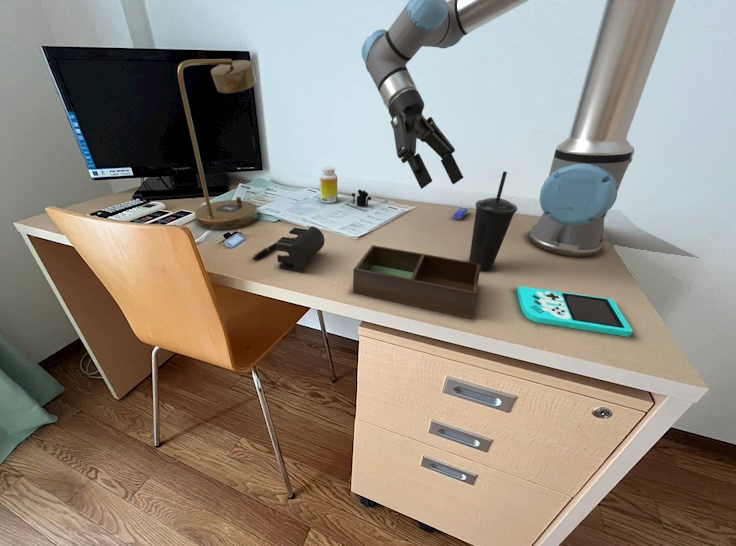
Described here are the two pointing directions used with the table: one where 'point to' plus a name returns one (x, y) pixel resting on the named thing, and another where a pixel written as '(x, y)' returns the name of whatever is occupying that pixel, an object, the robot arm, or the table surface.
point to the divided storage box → (418, 280)
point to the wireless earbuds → (361, 198)
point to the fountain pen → (264, 251)
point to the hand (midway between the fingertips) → (443, 183)
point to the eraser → (460, 213)
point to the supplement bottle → (328, 185)
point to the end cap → (299, 248)
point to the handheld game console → (573, 311)
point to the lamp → (214, 214)
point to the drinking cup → (490, 228)
